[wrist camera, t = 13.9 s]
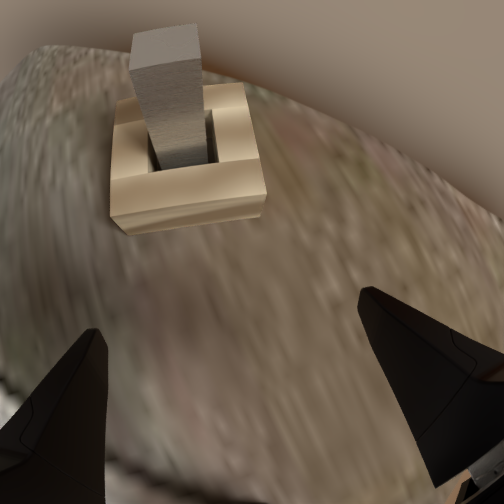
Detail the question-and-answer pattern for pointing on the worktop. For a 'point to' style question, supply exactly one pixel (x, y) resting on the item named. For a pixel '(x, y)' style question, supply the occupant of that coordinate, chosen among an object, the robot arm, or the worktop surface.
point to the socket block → (187, 169)
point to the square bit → (171, 93)
